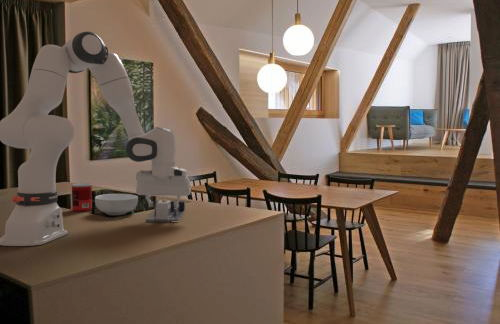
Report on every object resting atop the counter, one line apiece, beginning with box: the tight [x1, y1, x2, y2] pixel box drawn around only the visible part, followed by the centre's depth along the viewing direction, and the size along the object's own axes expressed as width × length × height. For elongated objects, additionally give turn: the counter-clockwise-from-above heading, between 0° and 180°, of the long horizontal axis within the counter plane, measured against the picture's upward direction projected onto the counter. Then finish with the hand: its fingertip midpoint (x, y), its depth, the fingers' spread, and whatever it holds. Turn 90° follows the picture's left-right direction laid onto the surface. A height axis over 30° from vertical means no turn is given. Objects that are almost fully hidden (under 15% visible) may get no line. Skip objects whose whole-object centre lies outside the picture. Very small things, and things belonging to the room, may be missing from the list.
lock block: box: [156, 198, 172, 219], centre depth 177 cm, size 7×4×7 cm, turn 0°
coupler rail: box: [145, 199, 186, 223], centre depth 185 cm, size 22×12×4 cm, turn 1°
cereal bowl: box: [94, 193, 139, 216], centre depth 189 cm, size 17×17×7 cm
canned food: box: [71, 182, 93, 213], centre depth 195 cm, size 8×8×11 cm
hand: (163, 207), depth 177 cm, fingers open, 8 cm apart
